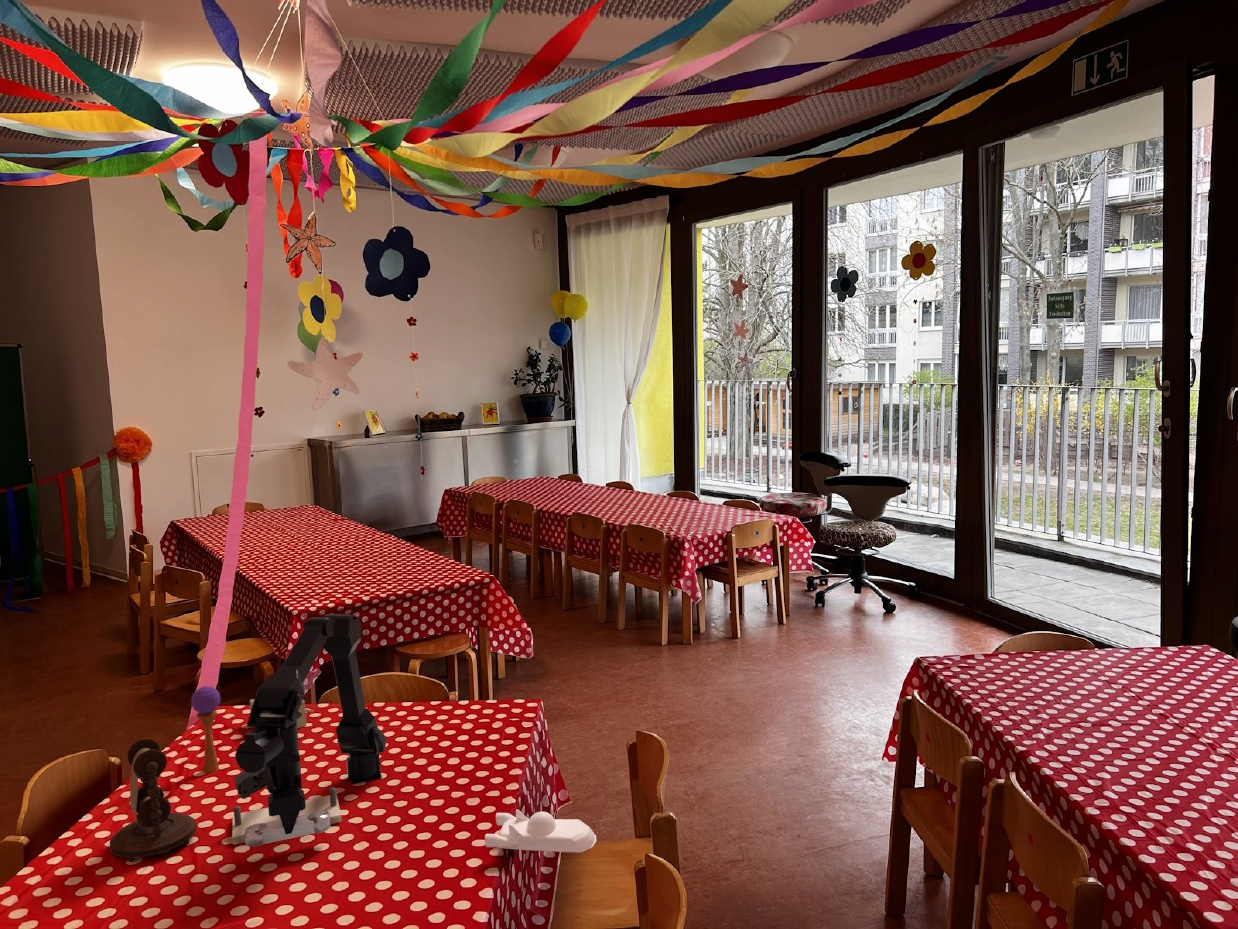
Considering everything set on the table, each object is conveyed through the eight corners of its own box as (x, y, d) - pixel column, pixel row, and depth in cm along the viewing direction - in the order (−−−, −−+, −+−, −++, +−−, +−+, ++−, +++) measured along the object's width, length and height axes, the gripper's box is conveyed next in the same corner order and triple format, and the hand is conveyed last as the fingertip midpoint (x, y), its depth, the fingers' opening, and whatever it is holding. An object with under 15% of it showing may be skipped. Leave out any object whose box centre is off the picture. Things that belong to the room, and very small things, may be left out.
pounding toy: (330, 720, 234) (328, 690, 234) (267, 741, 221) (264, 709, 221) (294, 705, 246) (292, 676, 245) (233, 725, 233) (230, 694, 232)
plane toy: (592, 859, 162) (591, 829, 162) (484, 856, 165) (483, 826, 164) (600, 831, 173) (599, 802, 172) (498, 828, 175) (497, 799, 174)
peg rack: (336, 801, 188) (335, 778, 187) (341, 822, 179) (339, 798, 178) (233, 821, 180) (231, 798, 180) (232, 845, 171) (230, 820, 171)
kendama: (201, 780, 200) (194, 693, 198) (194, 771, 205) (187, 687, 203) (229, 772, 204) (222, 687, 202) (221, 764, 208) (214, 680, 207)
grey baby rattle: (329, 821, 173) (328, 809, 173) (331, 830, 169) (330, 818, 169) (245, 838, 167) (244, 826, 167) (245, 848, 164) (244, 836, 163)
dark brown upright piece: (105, 842, 174) (95, 743, 172) (187, 818, 183) (179, 723, 181) (117, 874, 162) (107, 768, 160) (204, 846, 171) (196, 746, 169)
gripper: (235, 739, 172) (242, 816, 174) (234, 778, 155) (241, 863, 156) (297, 728, 176) (302, 804, 178) (302, 765, 159) (308, 848, 161)
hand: (288, 829), depth 168 cm, fingers closed on grey baby rattle, 3 cm apart
